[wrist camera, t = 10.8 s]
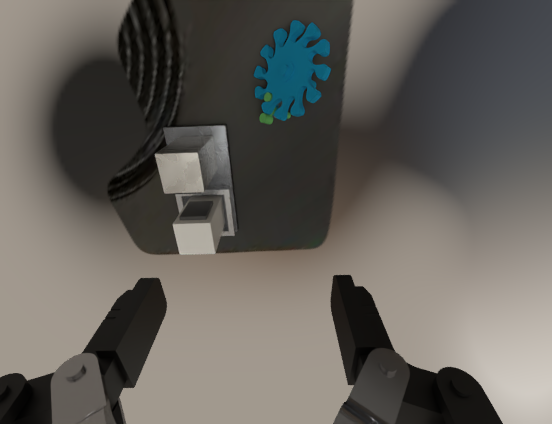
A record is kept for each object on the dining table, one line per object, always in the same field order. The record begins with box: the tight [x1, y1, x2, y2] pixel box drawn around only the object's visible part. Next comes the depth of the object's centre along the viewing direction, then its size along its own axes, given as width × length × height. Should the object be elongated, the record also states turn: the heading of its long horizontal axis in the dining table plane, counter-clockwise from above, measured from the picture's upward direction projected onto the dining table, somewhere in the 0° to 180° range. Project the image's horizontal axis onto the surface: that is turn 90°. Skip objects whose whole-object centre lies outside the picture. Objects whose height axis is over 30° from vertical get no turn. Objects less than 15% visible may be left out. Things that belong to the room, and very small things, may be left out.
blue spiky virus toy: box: [254, 20, 331, 124], centre depth 31 cm, size 11×6×10 cm
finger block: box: [173, 195, 225, 255], centre depth 37 cm, size 4×5×8 cm
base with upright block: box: [155, 124, 238, 236], centre depth 36 cm, size 16×8×9 cm, turn 2°
